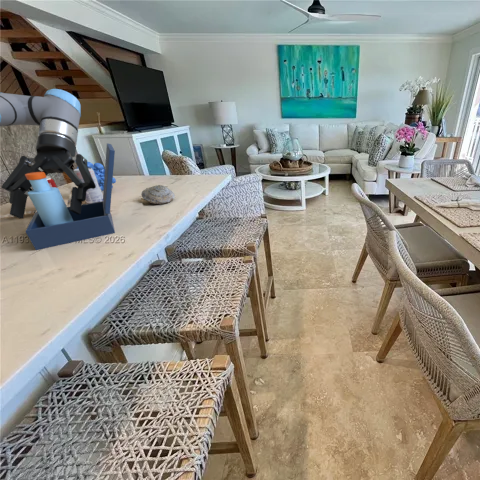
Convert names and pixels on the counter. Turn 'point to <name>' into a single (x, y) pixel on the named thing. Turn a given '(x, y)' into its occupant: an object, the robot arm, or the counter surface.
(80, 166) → the robot arm
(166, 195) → the fossilized seashell
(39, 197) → the water bottle
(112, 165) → the lid
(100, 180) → the grapes
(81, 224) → the navy blue open box
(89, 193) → the energy drink
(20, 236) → the counter surface
